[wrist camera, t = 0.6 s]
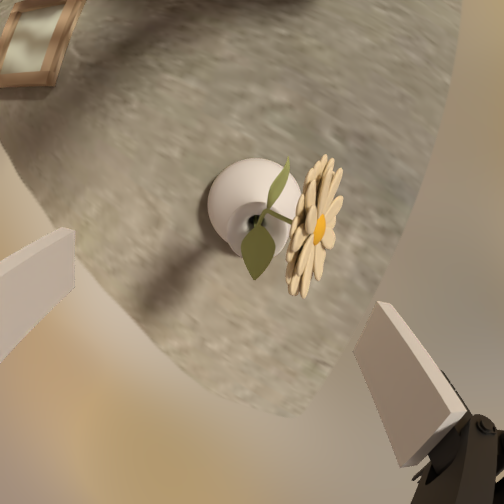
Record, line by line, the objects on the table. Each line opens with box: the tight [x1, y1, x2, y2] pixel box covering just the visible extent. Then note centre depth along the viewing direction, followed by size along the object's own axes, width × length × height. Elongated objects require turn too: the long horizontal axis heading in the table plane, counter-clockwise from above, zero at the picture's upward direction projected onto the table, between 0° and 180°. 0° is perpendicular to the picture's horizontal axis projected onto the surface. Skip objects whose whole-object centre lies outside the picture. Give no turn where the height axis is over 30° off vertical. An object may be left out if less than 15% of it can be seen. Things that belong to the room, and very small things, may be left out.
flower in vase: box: [207, 154, 343, 299], centre depth 25 cm, size 13×11×25 cm
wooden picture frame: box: [0, 0, 86, 88], centre depth 27 cm, size 16×16×2 cm
